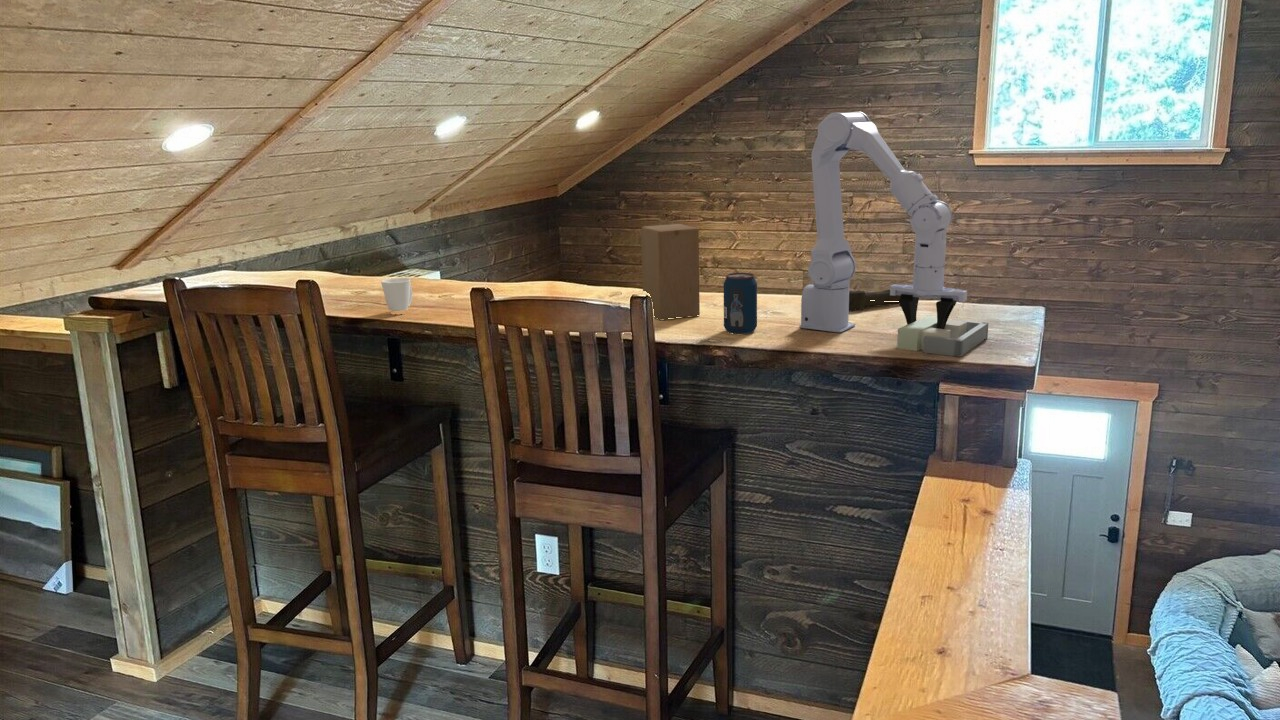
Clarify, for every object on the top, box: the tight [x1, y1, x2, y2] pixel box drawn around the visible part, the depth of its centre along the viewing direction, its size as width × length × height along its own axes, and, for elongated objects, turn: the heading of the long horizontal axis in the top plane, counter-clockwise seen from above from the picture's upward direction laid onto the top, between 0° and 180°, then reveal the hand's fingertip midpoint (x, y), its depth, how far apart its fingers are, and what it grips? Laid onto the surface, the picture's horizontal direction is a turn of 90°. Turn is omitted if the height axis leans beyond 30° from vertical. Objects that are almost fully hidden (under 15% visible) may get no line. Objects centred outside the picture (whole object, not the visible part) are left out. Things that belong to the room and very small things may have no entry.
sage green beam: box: [896, 315, 937, 351], centre depth 188 cm, size 4×14×4 cm, turn 141°
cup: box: [380, 277, 413, 312], centre depth 229 cm, size 7×10×8 cm
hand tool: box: [849, 289, 901, 312], centre depth 221 cm, size 19×4×5 cm, turn 114°
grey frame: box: [922, 318, 989, 358], centre depth 185 cm, size 7×17×3 cm, turn 145°
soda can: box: [723, 272, 758, 335], centre depth 200 cm, size 7×7×12 cm
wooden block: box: [640, 223, 701, 320], centre depth 216 cm, size 10×10×20 cm
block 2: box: [945, 319, 967, 339], centre depth 189 cm, size 4×4×4 cm
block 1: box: [920, 328, 951, 350], centre depth 183 cm, size 4×4×4 cm
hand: (925, 334), depth 188 cm, fingers open, 5 cm apart
